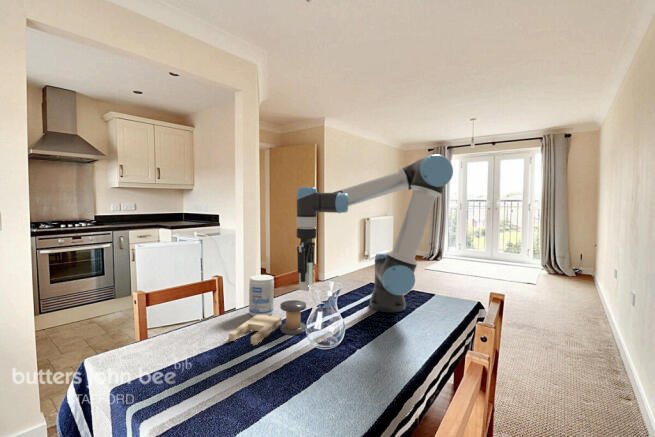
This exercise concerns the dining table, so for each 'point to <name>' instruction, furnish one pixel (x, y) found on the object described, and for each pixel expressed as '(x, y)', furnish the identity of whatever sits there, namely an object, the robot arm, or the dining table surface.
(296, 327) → the bobbin
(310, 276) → the peg
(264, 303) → the supplement tub
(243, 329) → the notched board
